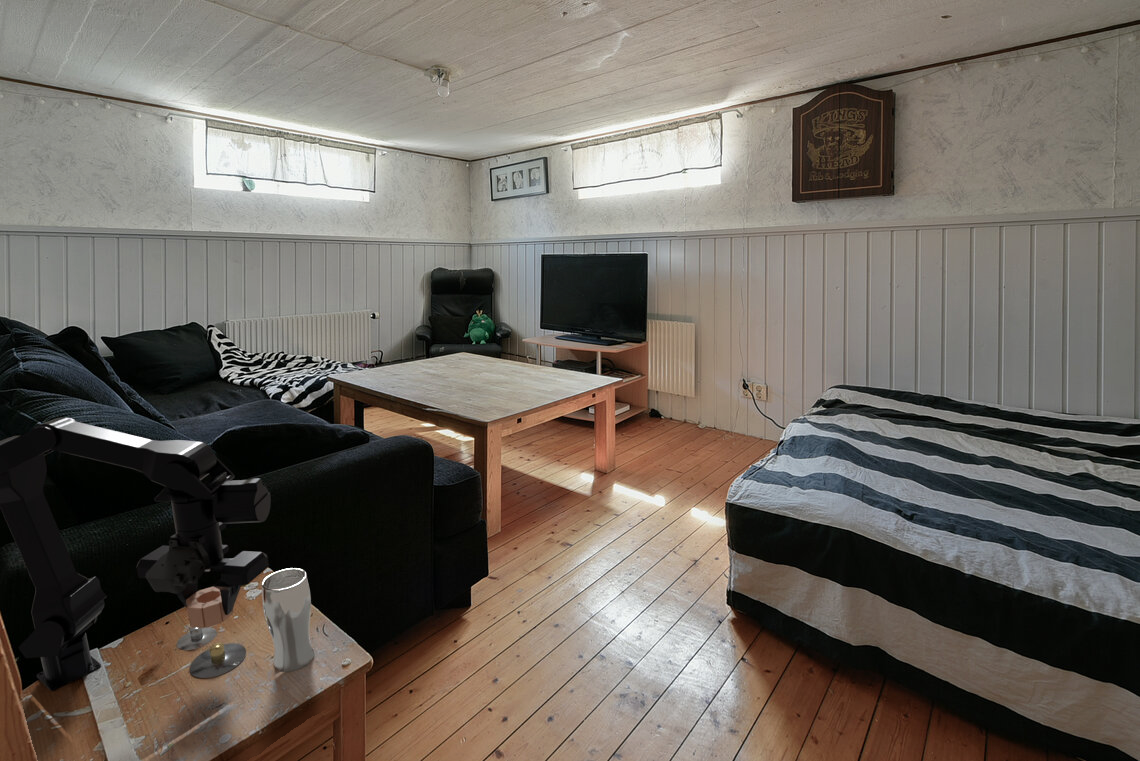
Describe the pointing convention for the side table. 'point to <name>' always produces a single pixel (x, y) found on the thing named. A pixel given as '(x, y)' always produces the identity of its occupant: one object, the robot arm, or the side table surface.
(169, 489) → the robot arm
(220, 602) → the octagonal hollow tube
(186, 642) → the metal knobbed lid
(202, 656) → the hub
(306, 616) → the beer glass
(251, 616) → the side table surface
